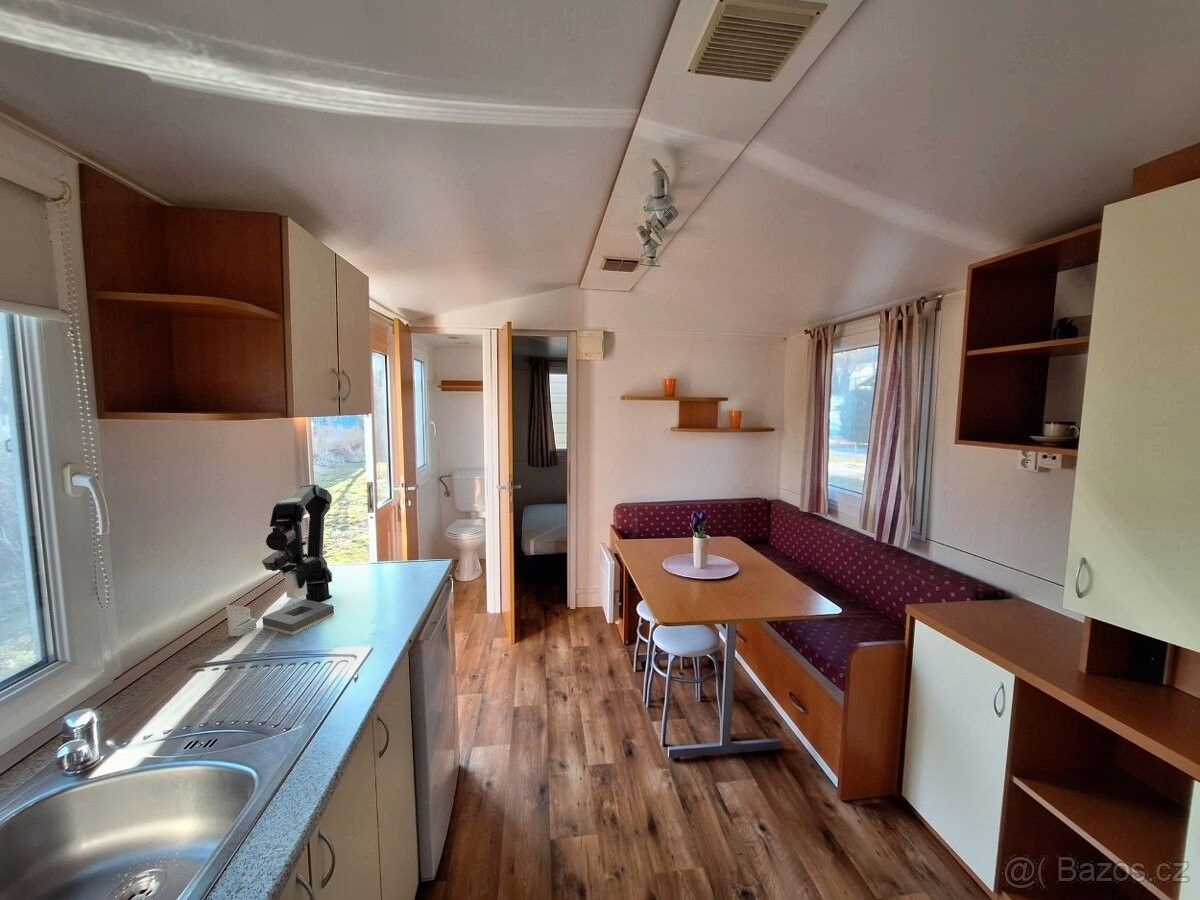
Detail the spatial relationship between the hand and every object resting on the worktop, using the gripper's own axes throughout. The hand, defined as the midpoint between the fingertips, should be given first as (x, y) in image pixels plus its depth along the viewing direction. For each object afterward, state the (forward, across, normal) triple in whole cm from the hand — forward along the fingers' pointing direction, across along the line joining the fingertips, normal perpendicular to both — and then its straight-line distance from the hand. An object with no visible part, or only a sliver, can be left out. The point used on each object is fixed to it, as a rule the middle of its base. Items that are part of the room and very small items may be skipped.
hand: (296, 587), depth 151 cm
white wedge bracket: (+12, -10, -11) cm, 19 cm away
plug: (+3, 0, 0) cm, 3 cm away
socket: (+12, 0, 0) cm, 12 cm away
